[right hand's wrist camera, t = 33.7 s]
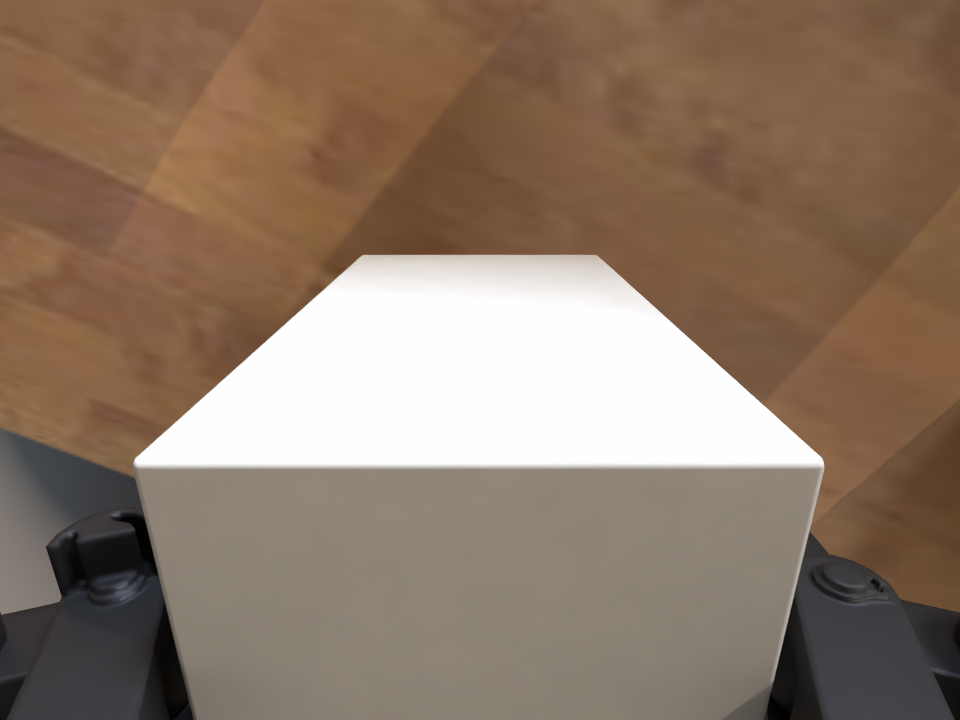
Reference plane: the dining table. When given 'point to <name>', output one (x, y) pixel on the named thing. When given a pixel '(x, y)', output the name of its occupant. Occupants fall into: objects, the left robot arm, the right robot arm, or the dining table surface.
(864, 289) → the dining table surface
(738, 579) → the brick
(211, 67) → the dining table surface
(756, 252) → the dining table surface
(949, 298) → the dining table surface
